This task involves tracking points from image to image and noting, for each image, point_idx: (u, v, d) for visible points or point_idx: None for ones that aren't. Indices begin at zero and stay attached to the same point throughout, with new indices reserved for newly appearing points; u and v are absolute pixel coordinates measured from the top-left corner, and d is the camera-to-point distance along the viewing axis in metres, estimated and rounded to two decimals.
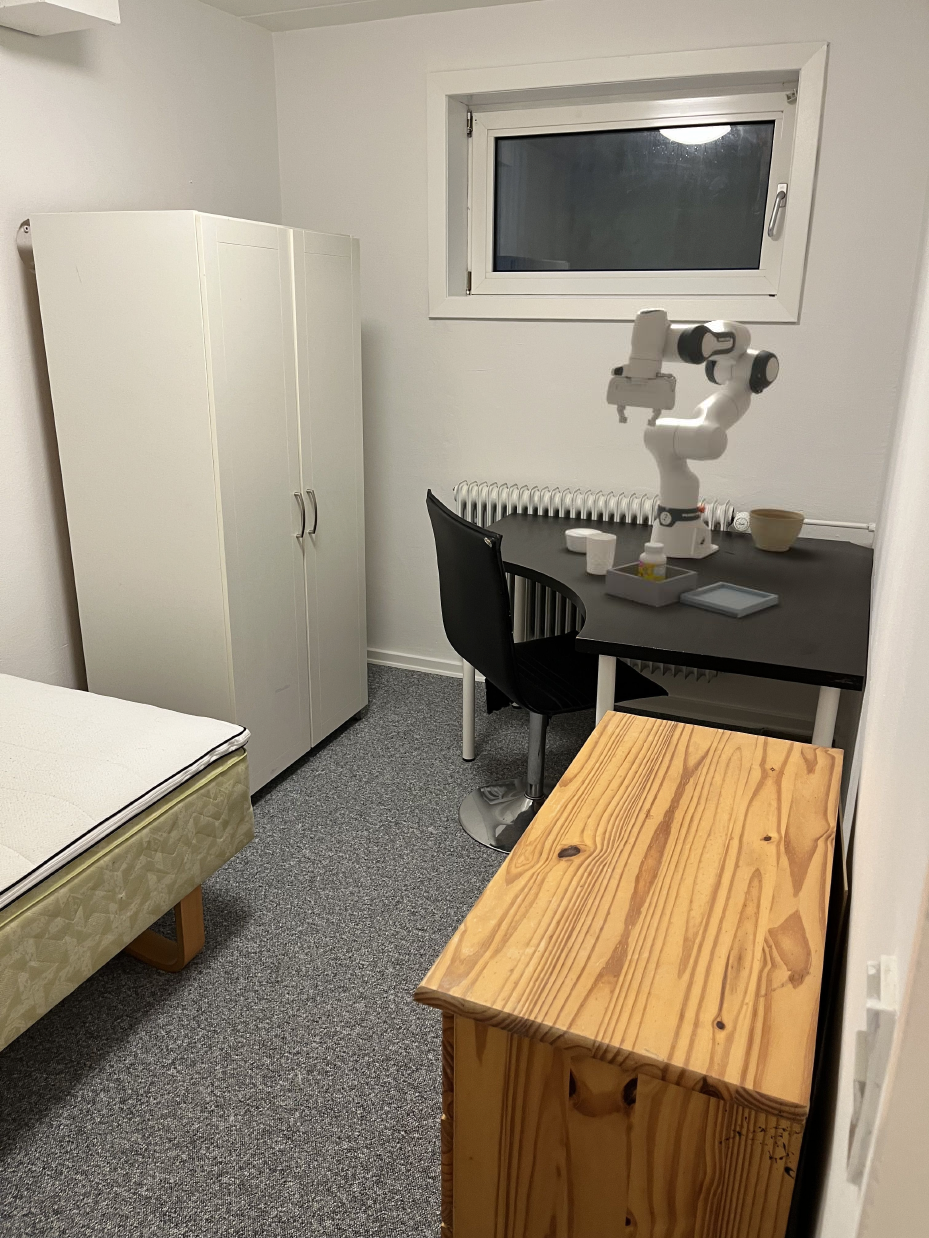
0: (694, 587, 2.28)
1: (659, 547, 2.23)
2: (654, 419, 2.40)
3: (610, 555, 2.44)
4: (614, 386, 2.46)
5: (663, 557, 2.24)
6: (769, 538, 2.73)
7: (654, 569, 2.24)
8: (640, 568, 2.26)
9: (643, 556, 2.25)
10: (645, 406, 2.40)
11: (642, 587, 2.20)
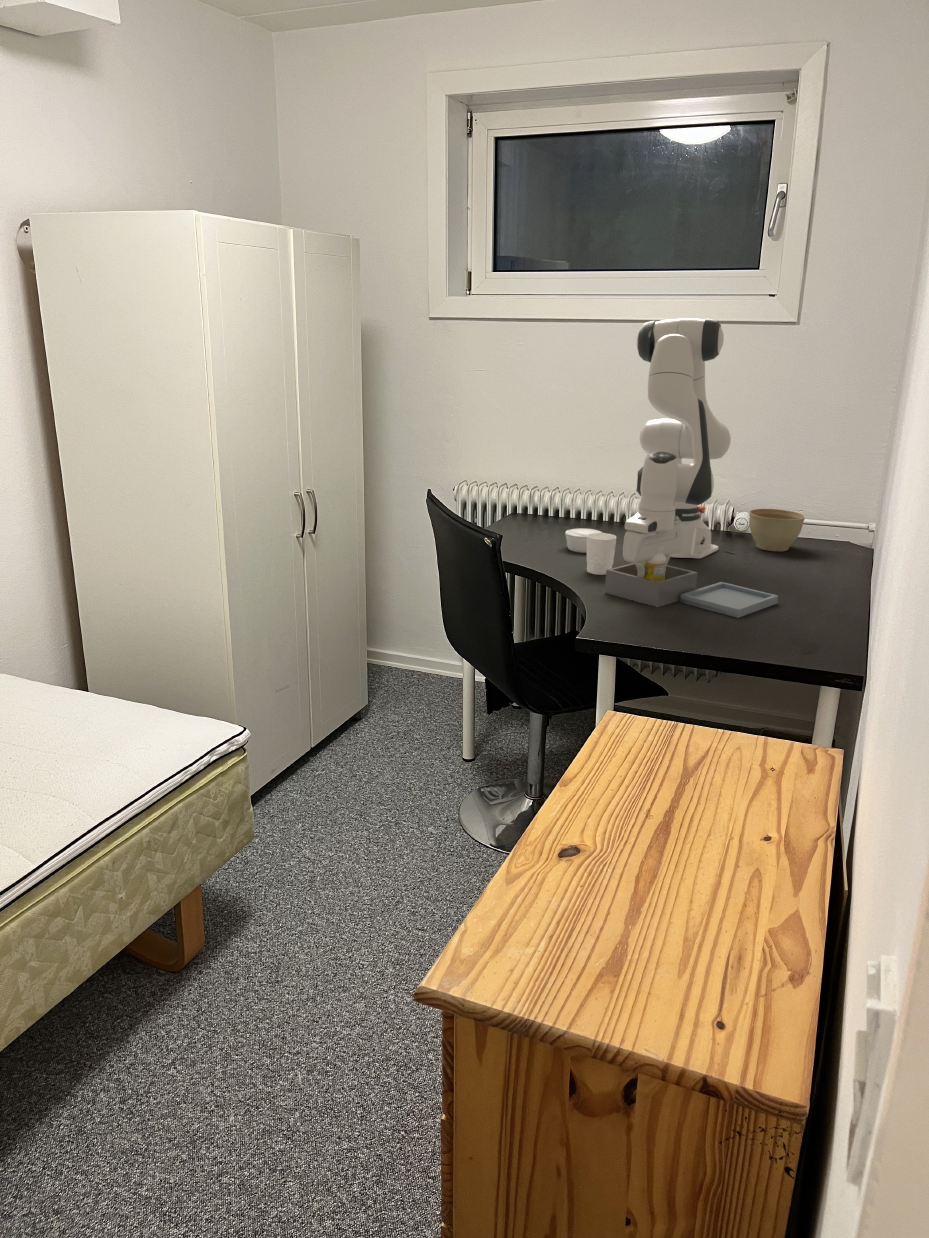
0: (694, 587, 2.28)
1: (659, 547, 2.23)
2: None
3: (610, 555, 2.44)
4: (642, 543, 2.18)
5: (663, 557, 2.24)
6: (769, 538, 2.73)
7: (654, 569, 2.24)
8: None
9: None
10: (666, 554, 2.27)
11: (642, 587, 2.20)
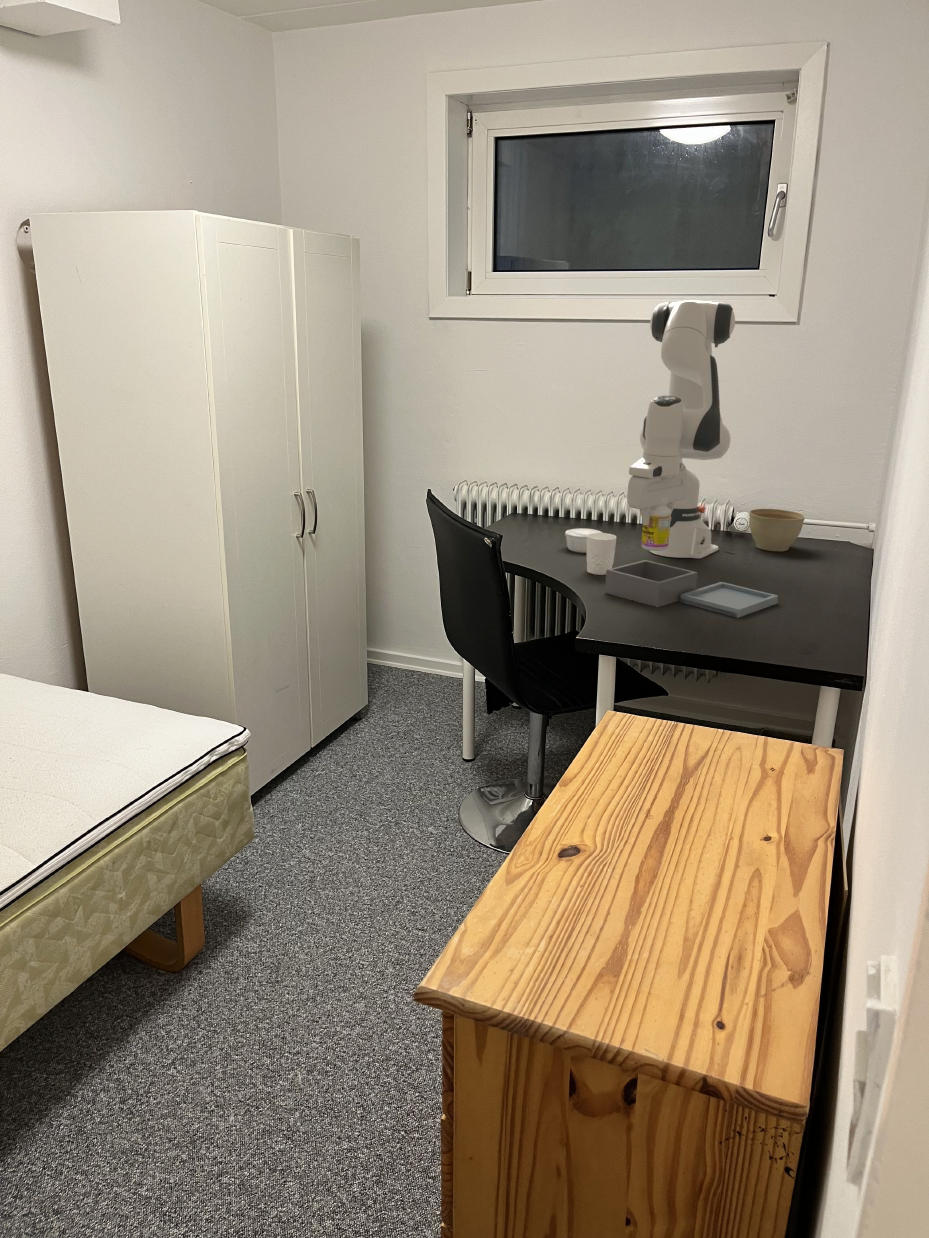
0: (694, 587, 2.28)
1: (663, 499, 2.20)
2: None
3: (610, 555, 2.44)
4: (646, 488, 2.14)
5: (667, 509, 2.21)
6: (769, 538, 2.73)
7: (659, 522, 2.20)
8: None
9: None
10: (671, 501, 2.23)
11: (642, 587, 2.20)
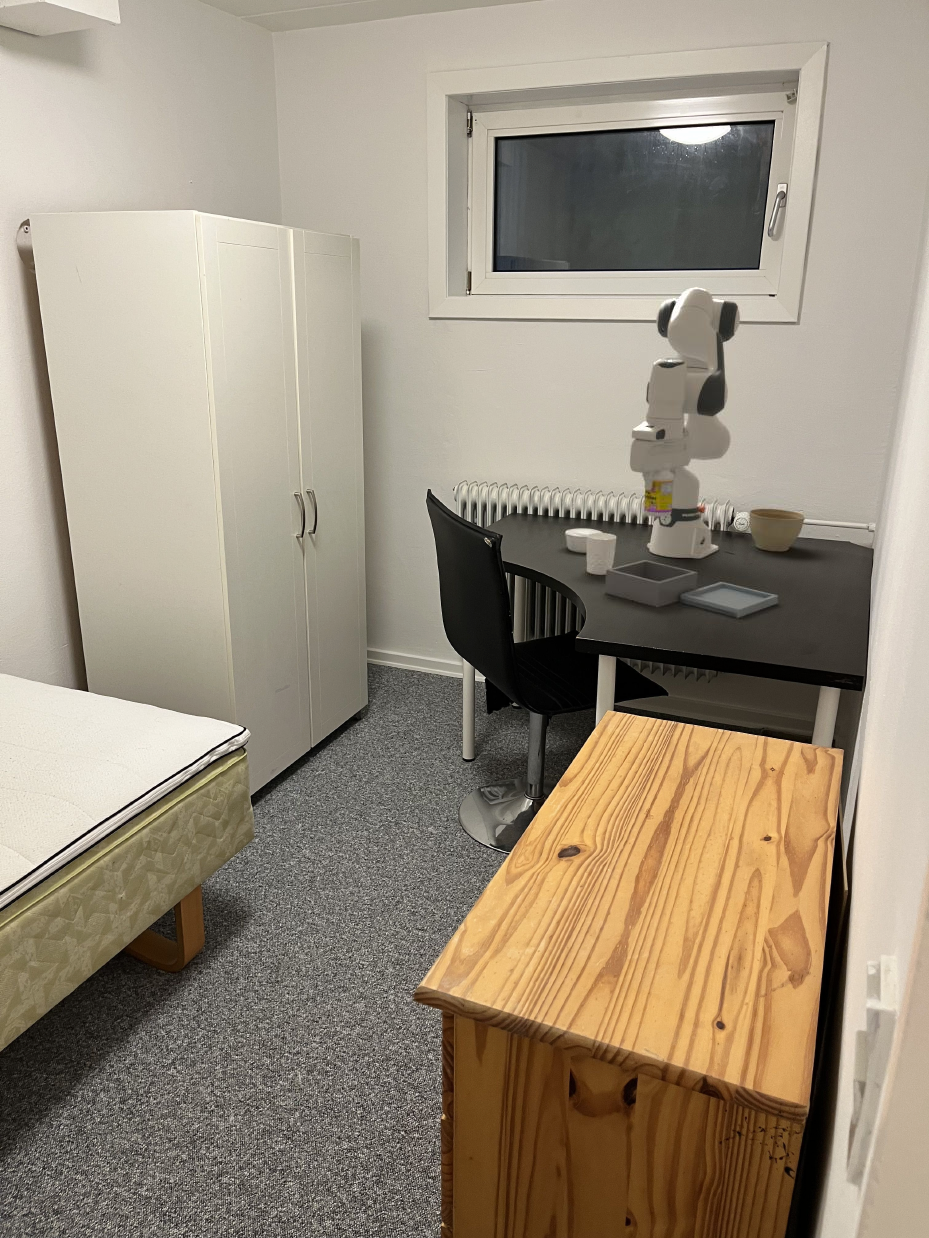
0: (694, 587, 2.28)
1: (666, 464, 2.17)
2: None
3: (610, 555, 2.44)
4: (649, 451, 2.12)
5: (670, 474, 2.18)
6: (769, 538, 2.73)
7: (662, 487, 2.17)
8: None
9: None
10: (674, 466, 2.20)
11: (642, 587, 2.20)
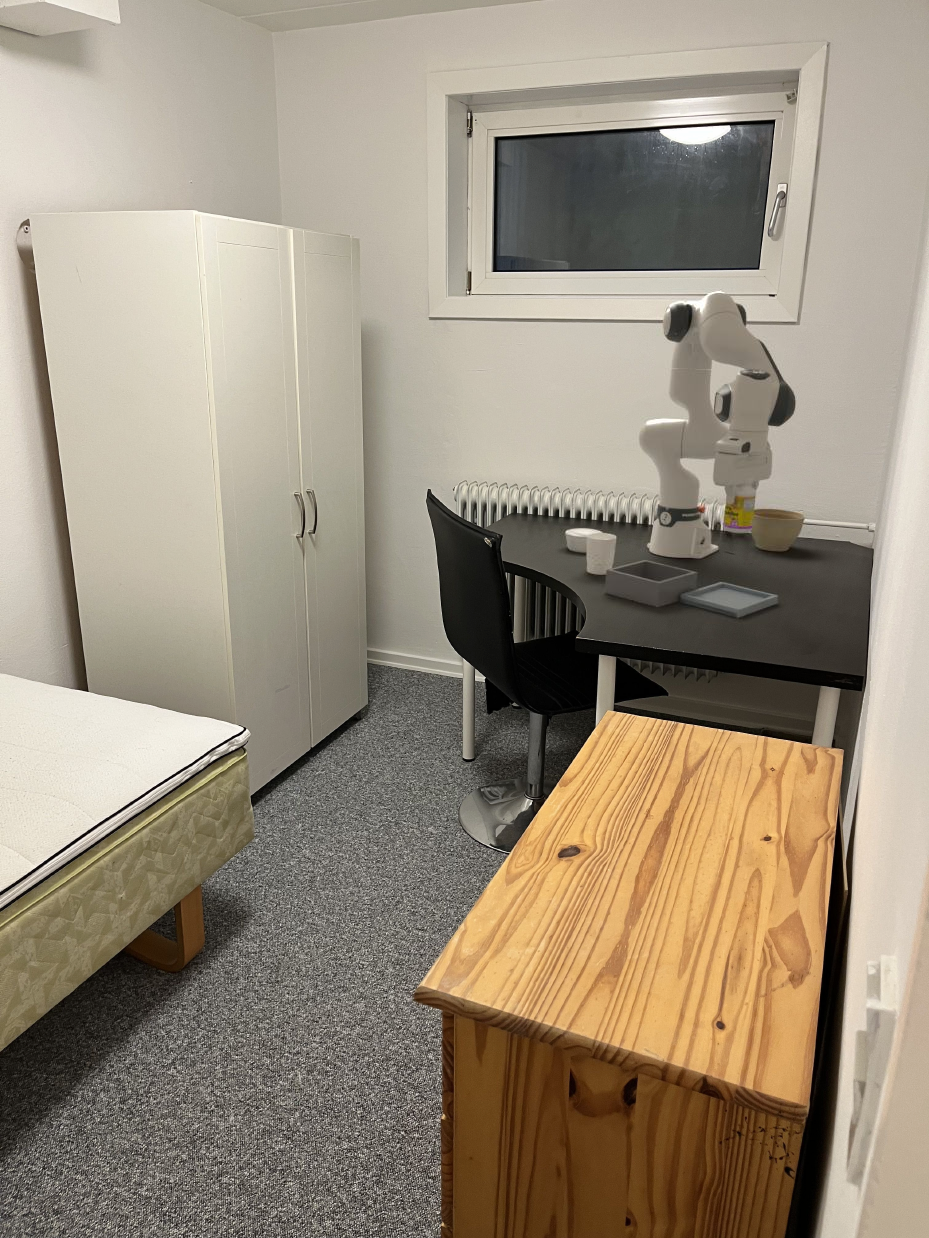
0: (694, 587, 2.28)
1: (749, 479, 2.12)
2: None
3: (610, 555, 2.44)
4: (734, 465, 2.06)
5: (753, 490, 2.13)
6: (769, 538, 2.73)
7: (744, 503, 2.12)
8: None
9: None
10: (756, 480, 2.15)
11: (642, 587, 2.20)
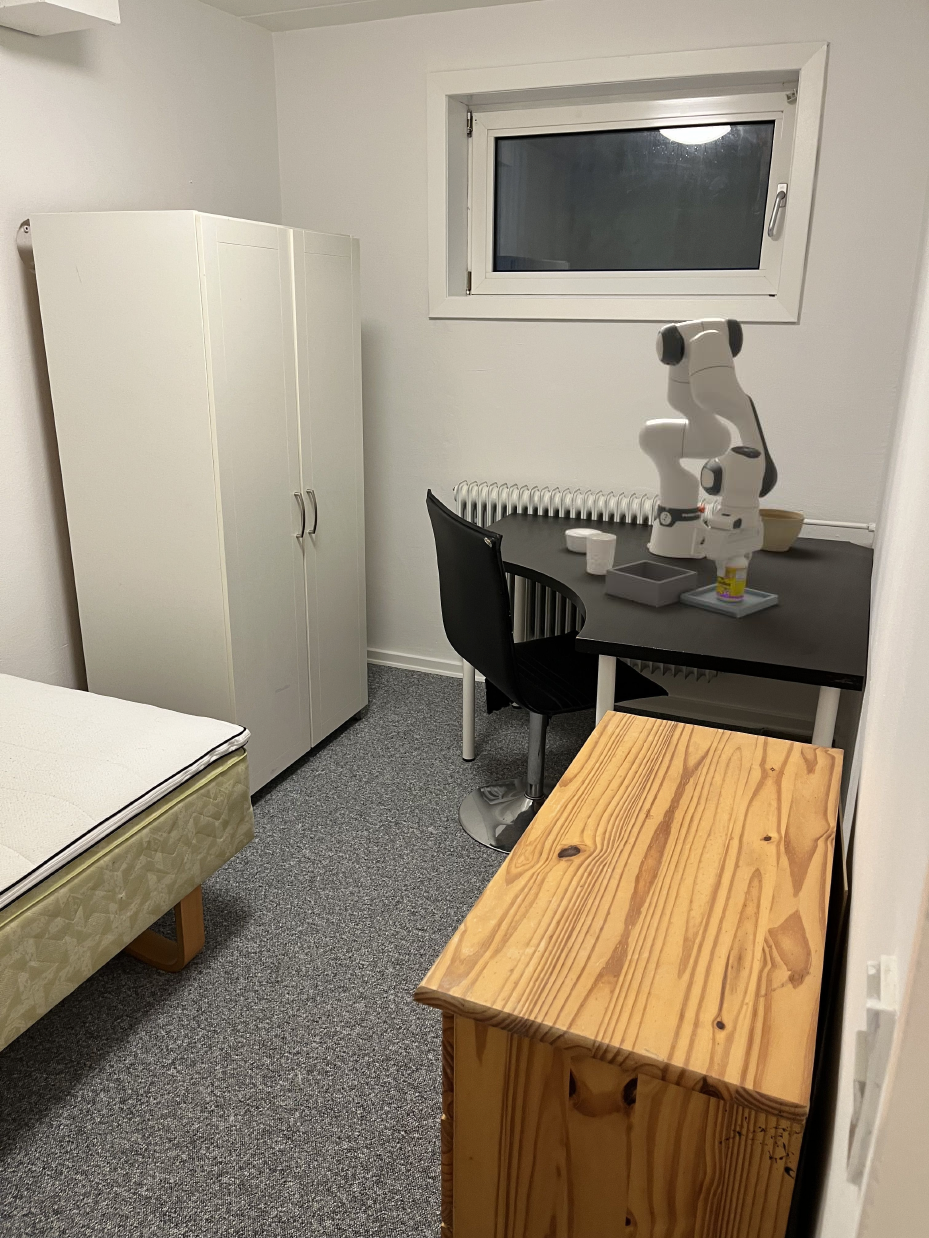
0: (694, 587, 2.28)
1: (741, 551, 2.17)
2: None
3: (610, 555, 2.44)
4: (726, 540, 2.12)
5: (745, 561, 2.18)
6: (769, 538, 2.73)
7: (736, 573, 2.17)
8: None
9: None
10: (748, 552, 2.20)
11: (642, 587, 2.20)
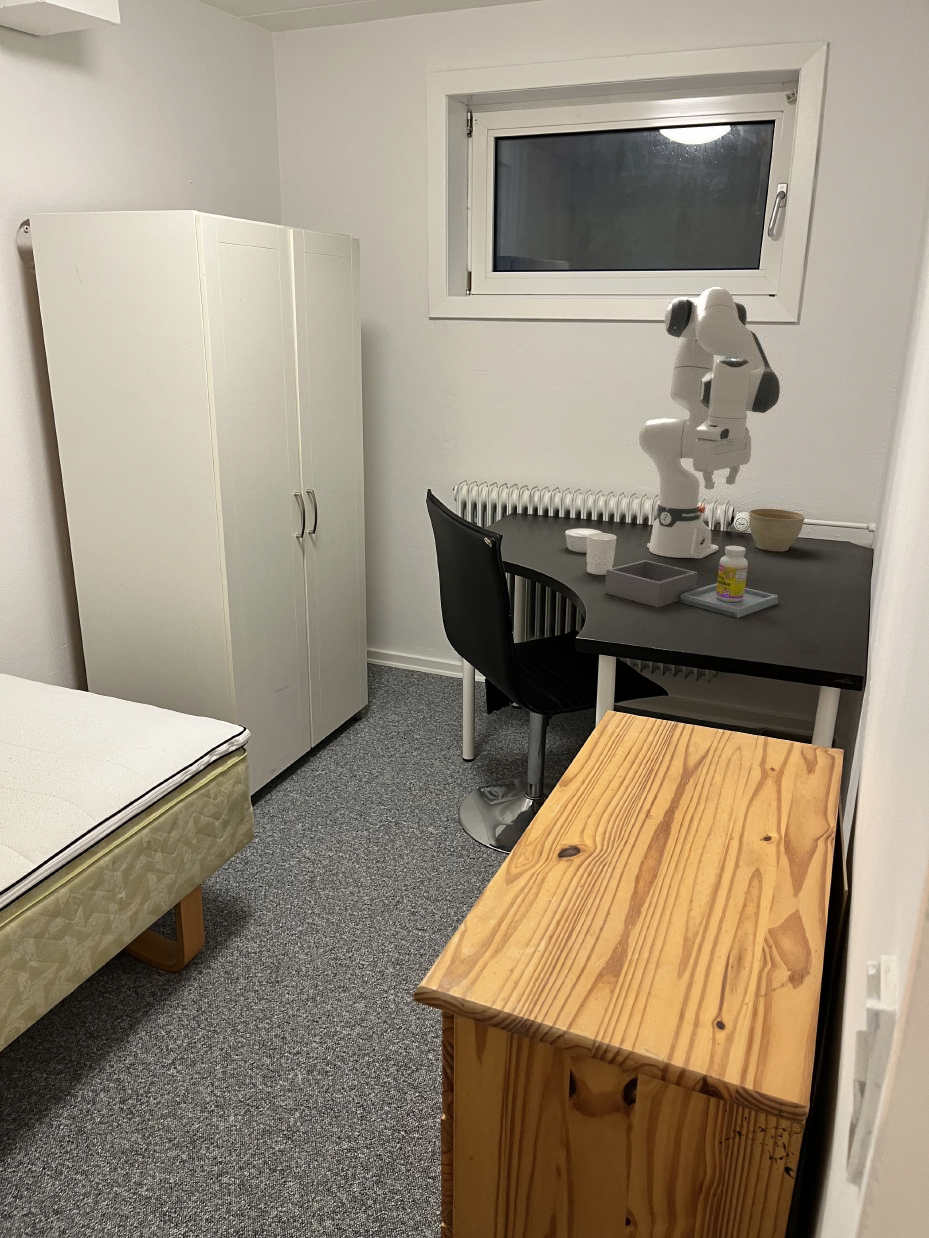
0: (694, 587, 2.28)
1: (741, 550, 2.17)
2: None
3: (610, 555, 2.44)
4: (713, 451, 2.11)
5: (745, 561, 2.18)
6: (769, 538, 2.73)
7: (736, 573, 2.17)
8: (721, 572, 2.20)
9: (724, 560, 2.19)
10: (735, 465, 2.19)
11: (642, 587, 2.20)
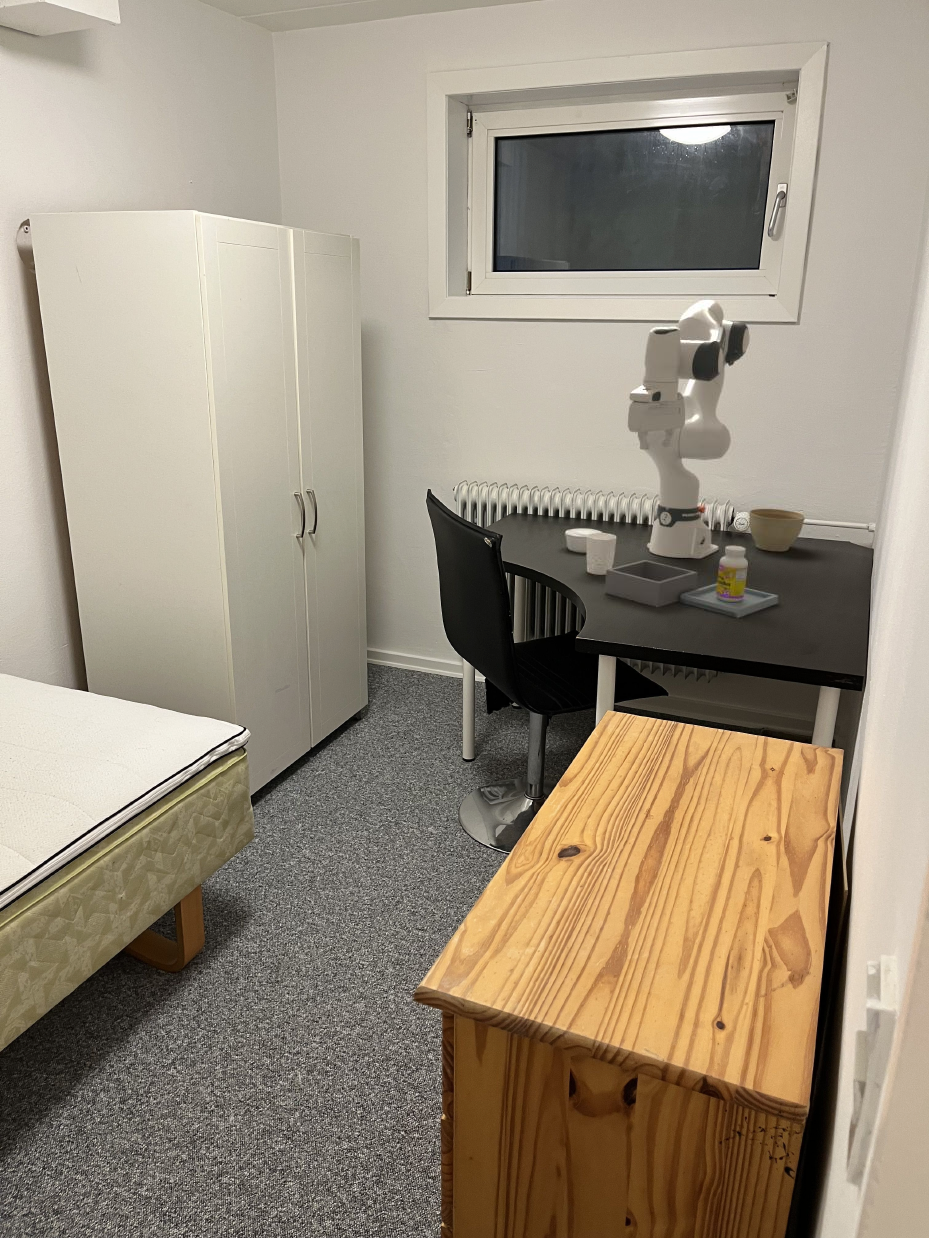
0: (694, 587, 2.28)
1: (741, 550, 2.17)
2: None
3: (610, 555, 2.44)
4: (646, 412, 2.27)
5: (745, 561, 2.18)
6: (769, 538, 2.73)
7: (736, 573, 2.17)
8: (721, 572, 2.20)
9: (724, 560, 2.19)
10: (669, 428, 2.35)
11: (642, 587, 2.20)
